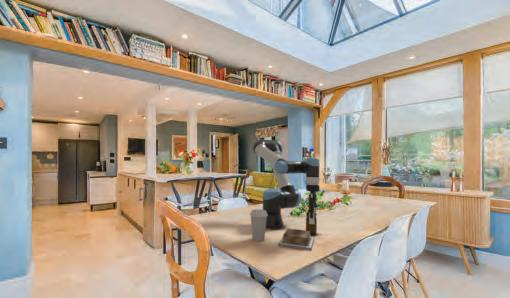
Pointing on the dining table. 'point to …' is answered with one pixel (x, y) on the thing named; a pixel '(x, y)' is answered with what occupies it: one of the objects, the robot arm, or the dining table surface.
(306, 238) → the pedestal
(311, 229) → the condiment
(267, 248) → the dining table surface
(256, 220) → the coffee cup
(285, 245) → the plan board
